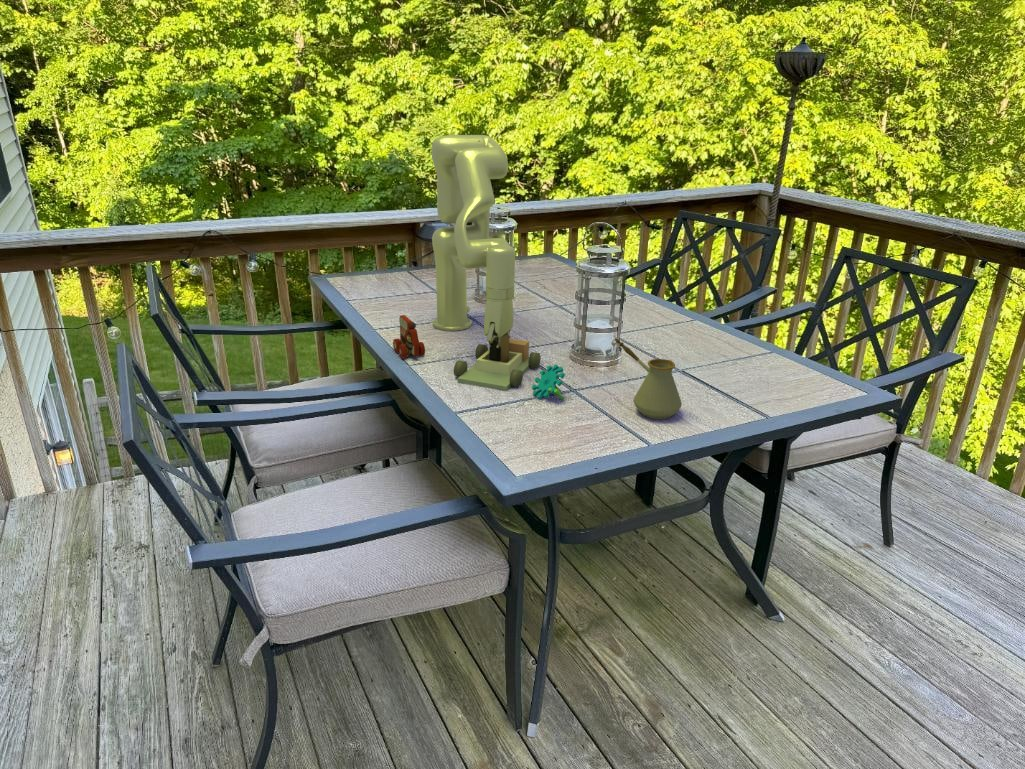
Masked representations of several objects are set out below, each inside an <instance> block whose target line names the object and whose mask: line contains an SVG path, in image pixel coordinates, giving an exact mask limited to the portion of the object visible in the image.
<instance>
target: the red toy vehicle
mask: <svg viewBox="0 0 1025 769" xmlns="http://www.w3.org/2000/svg"><path fill="white" fill-rule="evenodd" d="M398 318H399V320H398V321H399V337H400V338H394V339H393V341H392V347H393V350H394V352H395V353H396V354H398V355H399V357H401V358H400V359H403V358H404V359H407V358H408V356H409V355H412V356H414V357H418V356H419V357H422V356H425V354H426V347H425V344H424V342H422V341H420V340H419V336H418V335H419V334H418V330H417V324H416V323H415V322H414V321H412V319H410V318H409V317H407V316H406V314H401V315H399V317H398Z"/></svg>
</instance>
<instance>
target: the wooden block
mask: <svg viewBox="0 0 1025 769" xmlns="http://www.w3.org/2000/svg"><path fill="white" fill-rule="evenodd" d="M494 335H496V336H497V335H498V334H496V333H494ZM494 340H496V342H497V338H494ZM500 347H501V361H497V362H503V363H505V362H508V361H509V334H507V333H505V334H504V335H503V336H501V340H500ZM491 361H493V360H491Z"/></svg>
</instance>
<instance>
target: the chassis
mask: <svg viewBox="0 0 1025 769" xmlns="http://www.w3.org/2000/svg"><path fill="white" fill-rule="evenodd" d="M488 347H489V346H488V345H487V344H482V343H478V344H477V345H476V347H475V359H476V363H474V364H473V365H472V366H471V367H469V369H468V362H467V361H465V360H460V359H459V360H457V361H455V362H454V363H455V364H454V365H453V375H454V377H457V383H458V384H465V385H471V386H475V385H476V387H480V388H481V387H482V388H487V389H494V390H498V389H499V390H500V391H504V392H508V391H509V390H510V388H511V387H515V388H520V387H521V386H522V383H523V376H524V375H525V374H526V373H527V372H528V371H529V370H530V369H535V370H537V369H538V368H539V367H540V365H541V364H540V363H541V359H542V358H541V353H540V352H535V351H531V352H530V341H529V340H522V339H515V338H510V339H509V361H508V362H505V363H503V362H497V361H491V360H490V359H489V348H488ZM529 353H530V354H529ZM529 368H530V369H529ZM528 369H529V370H528ZM527 370H528V371H527ZM526 371H527V372H526ZM519 386H520V387H519Z"/></svg>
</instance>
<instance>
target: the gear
mask: <svg viewBox="0 0 1025 769" xmlns="http://www.w3.org/2000/svg"><path fill="white" fill-rule="evenodd" d="M539 375H540V378H539V376H536V377H535V378H534V379H533V381H534V382H535V383H538V384H535V383H534V384H532V386H531V389H532V390H533V391H532V396H534V397H537V398H539V400H542V398H543V397H544V398H545V399H547V398H549V397H550V394H553V396H554V397H556V398H560V399H561V401H565V400H566V397H564V396H563V395H562V394H561V392H562V390H561V389H560V388H559V387H561V386H562V385H563V381H562V380H560V379H564V378H565V377H566V376H565V375H566V374H565V373H564V368H563V366H559V365H558V364H553V367H552V365H547V366H546V371H545V370H544V369H542V370H541V371H539ZM559 378H560V379H559Z"/></svg>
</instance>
